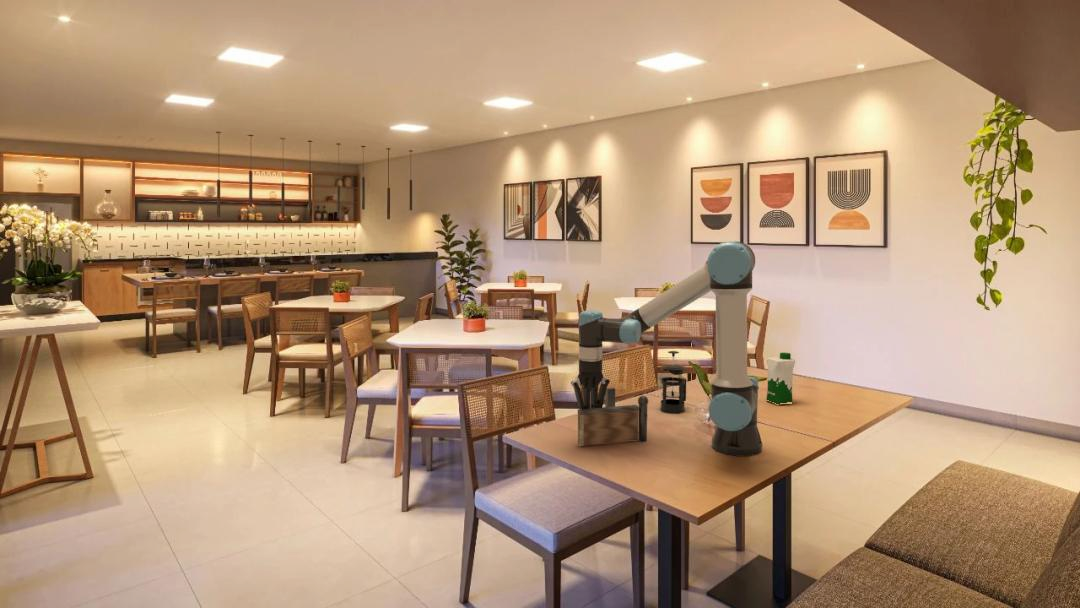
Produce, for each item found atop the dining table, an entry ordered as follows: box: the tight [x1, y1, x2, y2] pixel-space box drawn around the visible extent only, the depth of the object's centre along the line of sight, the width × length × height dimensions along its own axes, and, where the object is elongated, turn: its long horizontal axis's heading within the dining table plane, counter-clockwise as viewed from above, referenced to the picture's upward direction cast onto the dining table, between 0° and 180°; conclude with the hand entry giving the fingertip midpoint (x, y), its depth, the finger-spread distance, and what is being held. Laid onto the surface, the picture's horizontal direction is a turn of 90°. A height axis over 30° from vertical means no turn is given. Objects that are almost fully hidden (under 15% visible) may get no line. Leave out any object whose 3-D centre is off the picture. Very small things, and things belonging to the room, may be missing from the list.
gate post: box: [637, 395, 649, 443], centre depth 203 cm, size 3×3×15 cm
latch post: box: [604, 386, 616, 407], centre depth 225 cm, size 2×3×12 cm, turn 110°
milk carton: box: [765, 352, 796, 404], centre depth 248 cm, size 9×9×20 cm
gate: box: [577, 404, 639, 447], centre depth 200 cm, size 20×2×11 cm, turn 105°
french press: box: [659, 350, 687, 415], centre depth 238 cm, size 12×9×23 cm
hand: (590, 430), depth 201 cm, fingers closed
